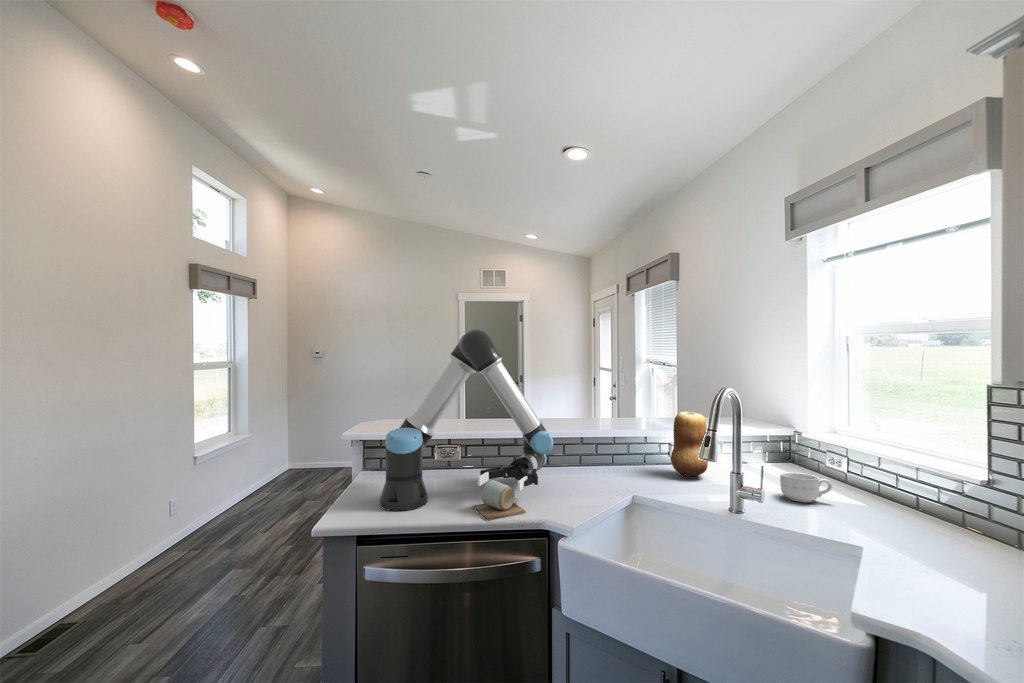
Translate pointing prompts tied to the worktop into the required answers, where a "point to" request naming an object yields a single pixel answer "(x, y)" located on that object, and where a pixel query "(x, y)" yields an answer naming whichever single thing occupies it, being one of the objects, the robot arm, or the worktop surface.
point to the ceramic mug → (498, 495)
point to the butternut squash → (688, 444)
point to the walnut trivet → (497, 511)
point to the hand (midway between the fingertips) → (498, 484)
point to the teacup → (802, 486)
